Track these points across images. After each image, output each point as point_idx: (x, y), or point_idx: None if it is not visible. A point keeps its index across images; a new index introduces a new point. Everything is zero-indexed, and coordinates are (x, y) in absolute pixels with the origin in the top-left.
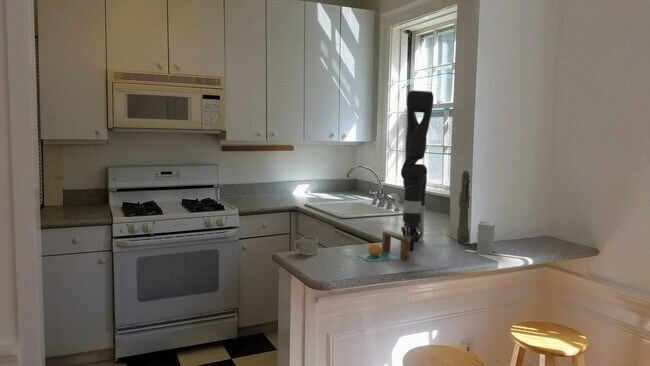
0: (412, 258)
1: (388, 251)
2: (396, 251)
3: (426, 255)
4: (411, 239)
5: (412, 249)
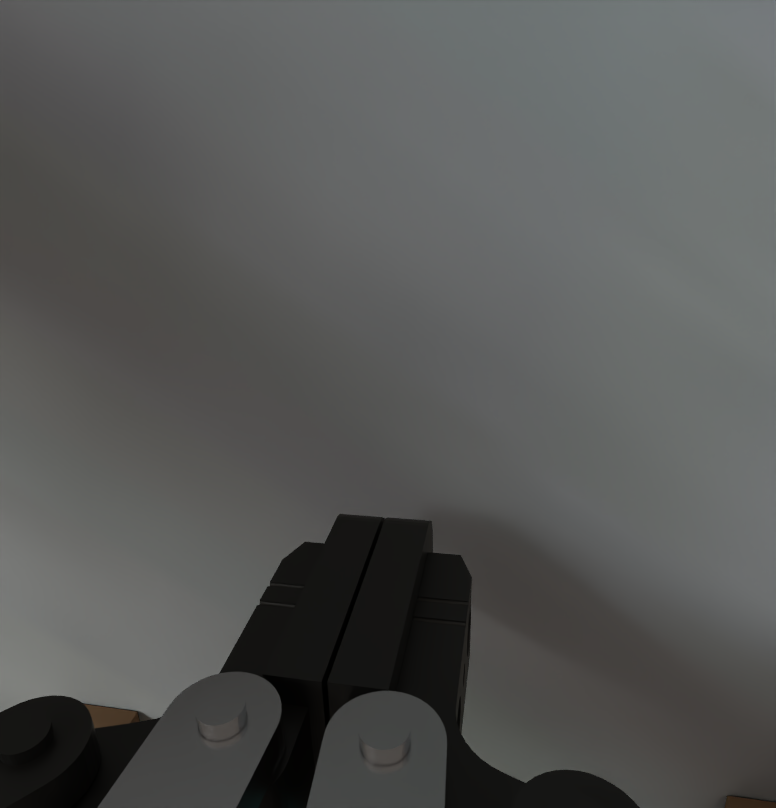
0: (707, 654)
1: None
2: (95, 591)
3: (610, 159)
4: (228, 805)
5: (470, 614)
